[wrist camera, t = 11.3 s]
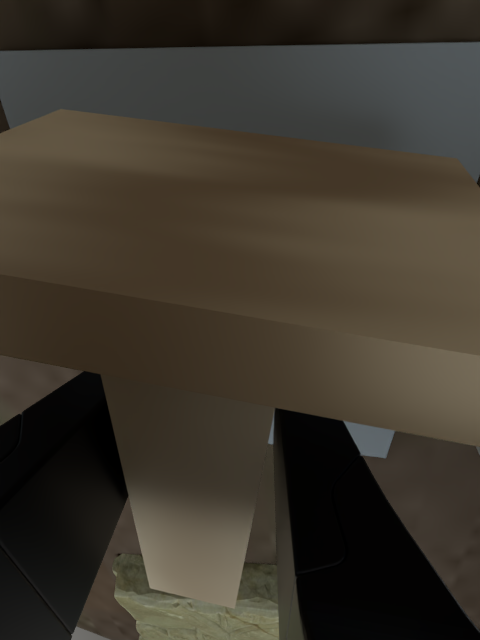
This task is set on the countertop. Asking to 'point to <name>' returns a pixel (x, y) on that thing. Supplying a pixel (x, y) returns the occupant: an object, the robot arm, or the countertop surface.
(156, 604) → the decorative tile
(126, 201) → the wooden t-shaped block
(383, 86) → the tool mat
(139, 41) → the countertop surface
